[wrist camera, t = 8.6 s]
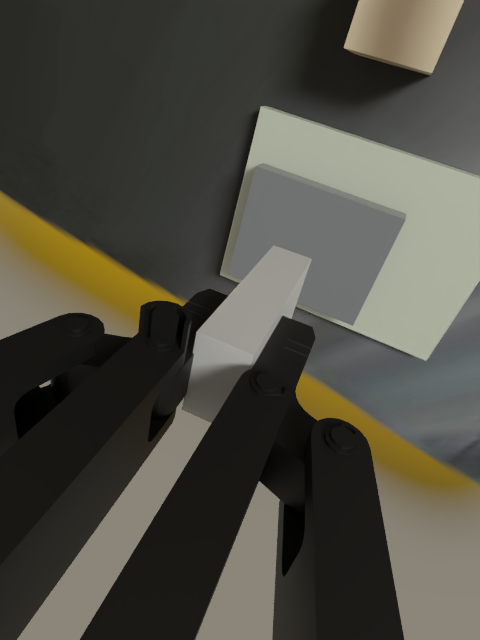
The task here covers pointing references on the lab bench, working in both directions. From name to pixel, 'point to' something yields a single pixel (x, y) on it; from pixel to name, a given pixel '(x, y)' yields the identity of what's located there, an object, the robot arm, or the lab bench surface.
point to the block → (402, 31)
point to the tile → (317, 238)
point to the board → (414, 237)
